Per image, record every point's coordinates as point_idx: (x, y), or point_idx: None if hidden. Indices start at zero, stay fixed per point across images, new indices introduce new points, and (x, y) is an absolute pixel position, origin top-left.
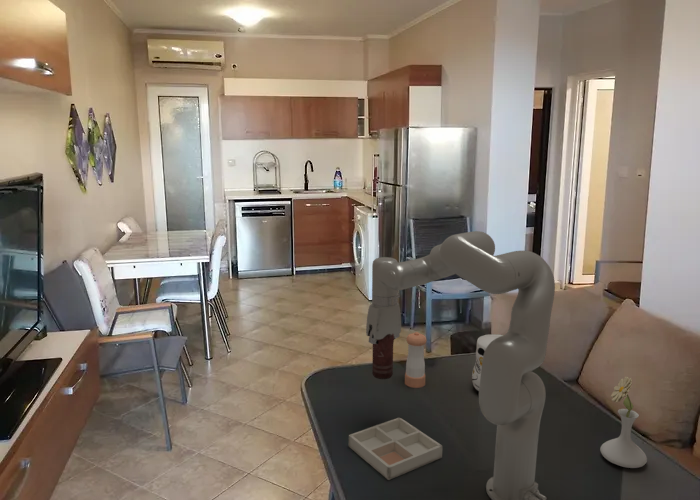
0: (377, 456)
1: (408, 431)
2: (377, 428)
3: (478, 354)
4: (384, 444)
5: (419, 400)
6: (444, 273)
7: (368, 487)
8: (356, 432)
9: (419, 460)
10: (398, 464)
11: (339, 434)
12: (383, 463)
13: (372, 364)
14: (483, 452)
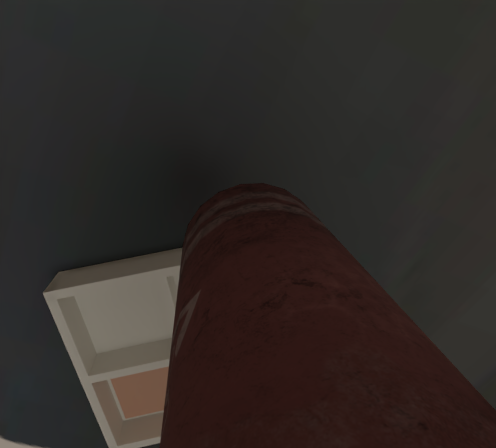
0: (99, 410)
1: None
2: (160, 286)
3: None
4: (144, 368)
5: (442, 81)
6: None
7: (61, 432)
8: (76, 286)
9: None
10: (143, 445)
11: (46, 196)
12: (104, 436)
13: (185, 253)
14: None
